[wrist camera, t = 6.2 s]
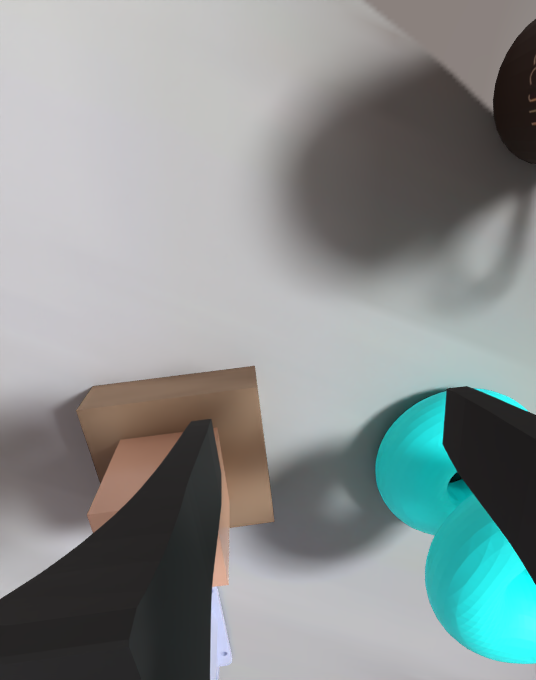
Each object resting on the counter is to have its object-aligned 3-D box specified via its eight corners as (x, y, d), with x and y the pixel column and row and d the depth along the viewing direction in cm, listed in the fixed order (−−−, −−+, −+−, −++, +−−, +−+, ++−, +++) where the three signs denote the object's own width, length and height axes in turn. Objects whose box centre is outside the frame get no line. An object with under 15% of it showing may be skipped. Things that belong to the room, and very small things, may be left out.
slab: (270, 485, 26) (274, 521, 23) (132, 504, 26) (120, 543, 23) (254, 361, 23) (257, 387, 20) (95, 382, 22) (76, 410, 20)
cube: (229, 502, 23) (228, 584, 18) (140, 513, 22) (116, 600, 18) (217, 427, 21) (212, 498, 16) (120, 439, 20) (87, 514, 16)
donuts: (743, 540, 15) (586, 692, 19) (554, 405, 25) (470, 523, 28) (537, 479, 14) (401, 660, 17) (415, 358, 23) (343, 490, 26)
